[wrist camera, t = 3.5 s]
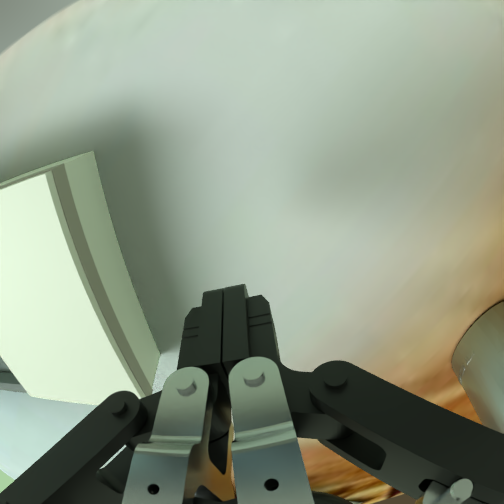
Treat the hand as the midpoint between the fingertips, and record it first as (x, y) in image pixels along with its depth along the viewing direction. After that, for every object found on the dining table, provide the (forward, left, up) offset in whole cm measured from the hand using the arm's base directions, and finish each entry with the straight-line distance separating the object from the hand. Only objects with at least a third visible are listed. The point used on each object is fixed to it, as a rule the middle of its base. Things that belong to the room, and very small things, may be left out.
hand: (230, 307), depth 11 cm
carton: (+11, 0, -6) cm, 13 cm away
